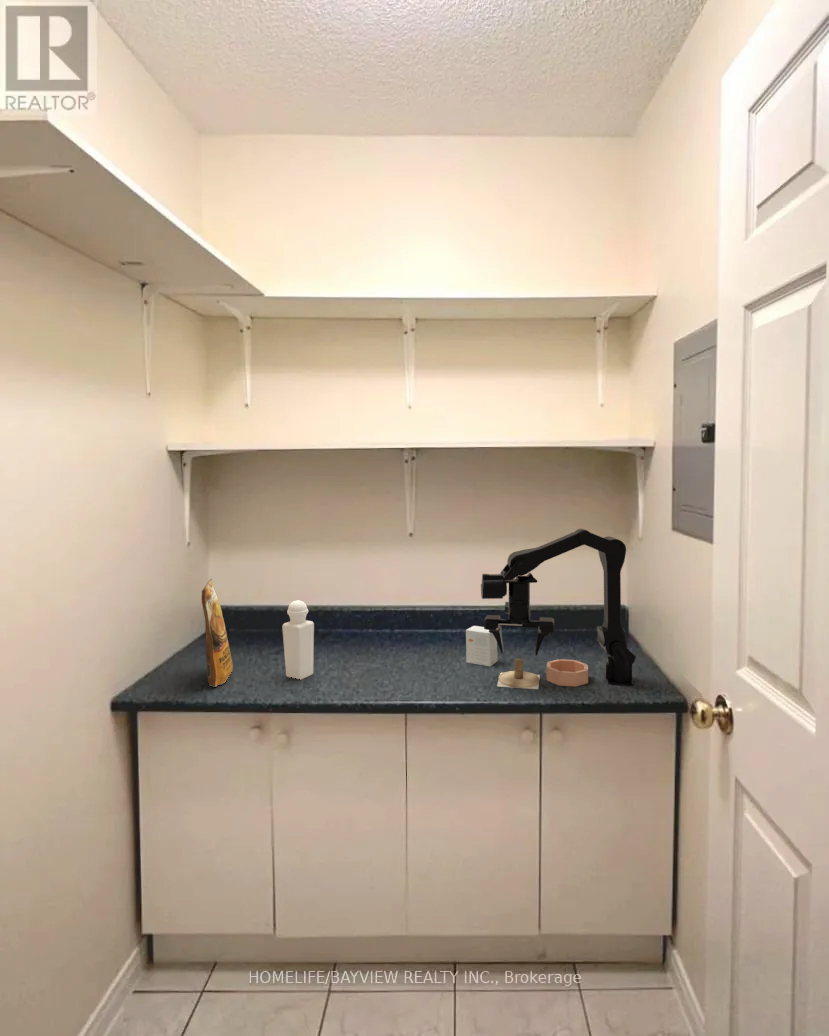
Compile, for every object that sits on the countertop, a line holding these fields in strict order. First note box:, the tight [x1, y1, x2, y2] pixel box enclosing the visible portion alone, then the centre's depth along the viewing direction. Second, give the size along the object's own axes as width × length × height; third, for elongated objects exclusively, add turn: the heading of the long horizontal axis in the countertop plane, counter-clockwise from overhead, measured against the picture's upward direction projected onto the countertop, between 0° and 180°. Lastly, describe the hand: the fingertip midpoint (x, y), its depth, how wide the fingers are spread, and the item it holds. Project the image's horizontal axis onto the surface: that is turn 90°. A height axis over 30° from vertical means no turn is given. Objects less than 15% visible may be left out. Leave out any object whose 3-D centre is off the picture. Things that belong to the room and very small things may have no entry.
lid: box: [498, 658, 540, 689], centre depth 169 cm, size 11×11×6 cm
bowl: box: [546, 658, 589, 688], centre depth 170 cm, size 11×11×4 cm
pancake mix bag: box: [201, 578, 234, 687], centre depth 174 cm, size 7×19×28 cm, turn 5°
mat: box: [496, 672, 541, 690], centre depth 169 cm, size 11×11×1 cm
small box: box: [465, 625, 498, 667], centre depth 185 cm, size 8×6×10 cm
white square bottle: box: [281, 599, 315, 681], centre depth 176 cm, size 6×6×22 cm
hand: (519, 654), depth 169 cm, fingers open, 9 cm apart
